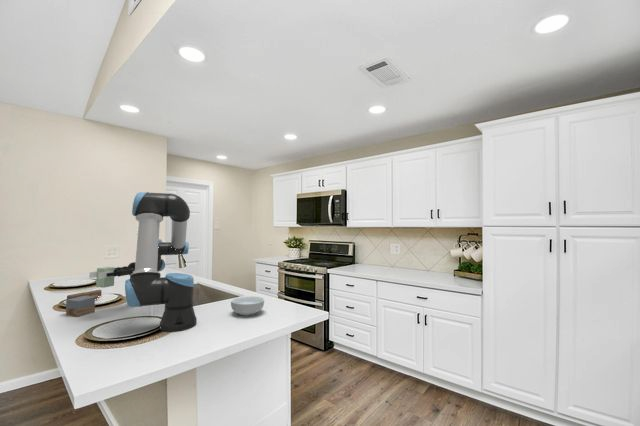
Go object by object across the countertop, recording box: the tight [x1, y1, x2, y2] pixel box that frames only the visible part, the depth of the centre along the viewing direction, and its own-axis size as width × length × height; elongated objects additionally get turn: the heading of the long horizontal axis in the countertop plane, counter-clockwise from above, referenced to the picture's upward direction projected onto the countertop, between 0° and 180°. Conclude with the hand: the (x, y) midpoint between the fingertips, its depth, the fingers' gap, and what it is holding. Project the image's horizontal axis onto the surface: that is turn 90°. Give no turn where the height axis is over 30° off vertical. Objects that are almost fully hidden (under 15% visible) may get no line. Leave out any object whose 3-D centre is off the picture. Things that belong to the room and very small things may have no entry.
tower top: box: [65, 296, 96, 309], centre depth 144 cm, size 8×8×4 cm
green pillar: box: [95, 266, 116, 289], centre depth 140 cm, size 5×5×9 cm
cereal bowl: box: [230, 295, 265, 317], centre depth 149 cm, size 17×17×7 cm
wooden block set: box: [66, 289, 102, 300], centre depth 167 cm, size 17×6×18 cm
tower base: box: [65, 304, 96, 318], centre depth 144 cm, size 8×8×4 cm
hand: (94, 275), depth 135 cm, fingers closed on green pillar, 5 cm apart
